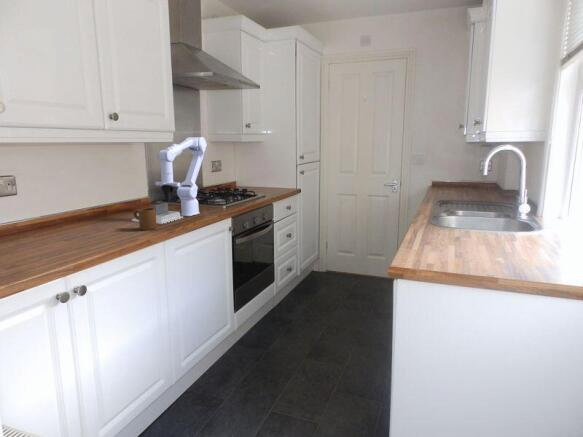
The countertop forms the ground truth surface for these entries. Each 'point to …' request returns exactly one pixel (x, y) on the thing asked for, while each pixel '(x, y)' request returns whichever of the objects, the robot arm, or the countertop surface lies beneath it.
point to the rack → (165, 217)
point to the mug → (146, 218)
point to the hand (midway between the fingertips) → (168, 199)
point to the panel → (161, 208)
